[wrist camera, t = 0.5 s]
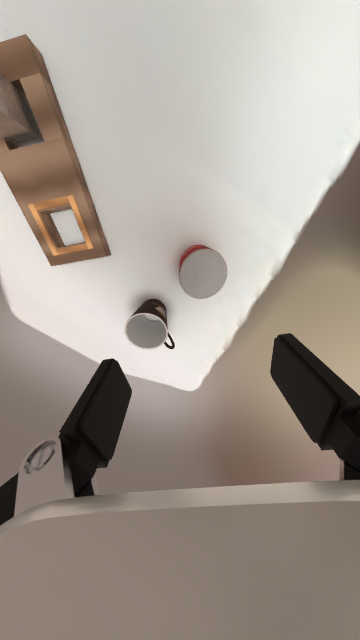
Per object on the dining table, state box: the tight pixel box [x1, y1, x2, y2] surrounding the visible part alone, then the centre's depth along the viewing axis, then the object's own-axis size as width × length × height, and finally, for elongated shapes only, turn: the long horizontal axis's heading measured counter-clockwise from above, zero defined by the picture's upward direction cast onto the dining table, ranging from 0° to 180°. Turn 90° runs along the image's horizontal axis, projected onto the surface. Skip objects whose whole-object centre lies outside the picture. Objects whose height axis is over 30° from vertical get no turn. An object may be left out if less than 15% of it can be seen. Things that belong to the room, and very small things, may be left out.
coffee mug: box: [125, 299, 175, 349], centre depth 37 cm, size 12×9×10 cm
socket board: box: [0, 34, 111, 266], centre depth 27 cm, size 26×12×3 cm, turn 9°
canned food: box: [179, 245, 227, 299], centre depth 30 cm, size 8×8×11 cm
